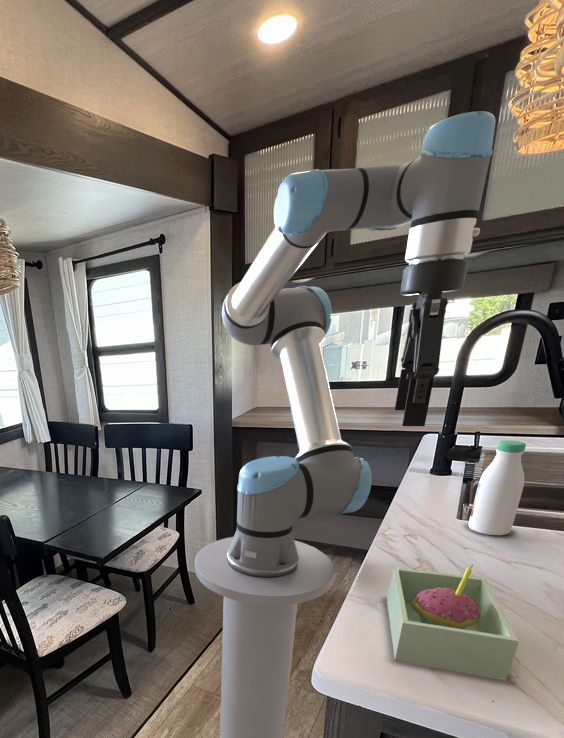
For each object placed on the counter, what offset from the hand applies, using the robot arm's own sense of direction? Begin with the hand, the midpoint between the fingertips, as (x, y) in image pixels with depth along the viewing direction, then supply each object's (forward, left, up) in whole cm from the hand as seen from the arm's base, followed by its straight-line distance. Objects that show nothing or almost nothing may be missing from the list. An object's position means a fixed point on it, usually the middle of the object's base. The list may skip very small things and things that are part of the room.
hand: (408, 417), depth 73 cm
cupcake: (+11, +8, -31) cm, 34 cm away
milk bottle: (-37, +24, -32) cm, 54 cm away
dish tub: (+11, +8, -32) cm, 34 cm away
